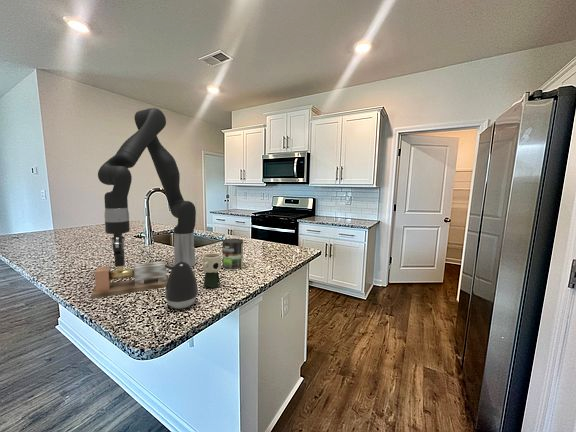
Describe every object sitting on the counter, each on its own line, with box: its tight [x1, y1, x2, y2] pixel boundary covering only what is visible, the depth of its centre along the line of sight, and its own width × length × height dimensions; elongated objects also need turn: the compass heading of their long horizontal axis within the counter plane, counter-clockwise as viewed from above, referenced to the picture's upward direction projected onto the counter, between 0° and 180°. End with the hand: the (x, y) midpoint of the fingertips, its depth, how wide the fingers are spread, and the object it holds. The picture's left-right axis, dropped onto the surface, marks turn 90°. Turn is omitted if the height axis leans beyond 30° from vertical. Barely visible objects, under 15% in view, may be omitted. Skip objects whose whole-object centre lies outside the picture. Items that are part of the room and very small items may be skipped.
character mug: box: [202, 252, 222, 289], centre depth 100 cm, size 11×7×13 cm, turn 166°
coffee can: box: [221, 238, 244, 271], centre depth 124 cm, size 10×10×14 cm
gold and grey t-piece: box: [109, 248, 135, 281], centre depth 94 cm, size 13×3×11 cm, turn 121°
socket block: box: [94, 265, 112, 292], centre depth 92 cm, size 4×6×8 cm, turn 31°
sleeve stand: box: [90, 260, 169, 300], centre depth 96 cm, size 25×10×8 cm, turn 121°
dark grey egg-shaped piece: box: [164, 262, 199, 310], centre depth 83 cm, size 10×10×15 cm
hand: (119, 264), depth 94 cm, fingers closed
